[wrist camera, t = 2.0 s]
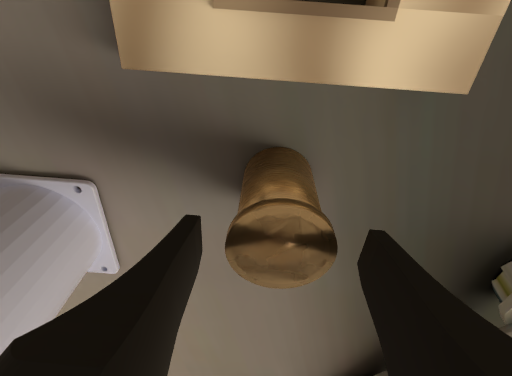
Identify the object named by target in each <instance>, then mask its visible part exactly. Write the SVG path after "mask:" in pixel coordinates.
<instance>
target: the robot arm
mask: <svg viewBox="0 0 512 376" xmlns="http://www.w3.org/2000/svg"><path fill="white" fill-rule="evenodd" d="M77 186H78V187H80V188H81V189H79V188H78V187H77ZM201 255H202V234H201V217H200V216H197V215H185V216H184V217H183V218H182V219H181V220H180V221H179V223H178V224H177V225H176V226H175V227H174V228H173V229H172V230H171V231H170V232H169V233H168V234H167V235H166V236H165V237H164V238H163V239H162V240H161V241H160V242H159V243H158V244H157V245H156V246H155V247H154V248H153V249H152V250H151V251H150V252H149V253H148V254H147V255H146V256H145V257H143V258H142V259H141V260H140V261H139V262H138V263H137V264H136V265H134V266H133V267H132V268H131V269H129V270H128V271H127V272H126V273H124V274H123V275H122V276H121V277H119V278H118V279H117V280H115V281H114V282H112V283H111V284H110V285H108V286H107V287H105V288H104V289H102V290H101V291H99V292H98V293H97V294H95V295H94V296H92V297H91V298H89V299H87V300H86V301H84V302H82V303H81V304H79V305H78V306H76V307H74V308H72V309H71V310H69V311H67V312H65V313H64V314H62V315H60V316H58V317H57V318H55V317H56V315H57V314H58V312H59V311H60V309H61V308H62V307H63V305H64V304H65V302H66V301H67V299H68V298H69V297H70V295H71V294H72V292H73V291H74V289H75V288H76V287H77V285H78V284H79V282H80V281H81V279H82V278H83V277H84V275H85V274H86V272H96V273H109V274H115V273H117V272H118V270H119V268H120V266H119V263H118V260H117V256H116V253H115V249H114V246H113V242H112V239H111V235H110V232H109V229H108V225H107V222H106V218H105V215H104V211H103V208H102V205H101V201H100V198H99V194H98V191H97V188H96V186H95V184H94V183H92V182H90V181H87V180H76V179H63V178H50V177H37V176H24V175H11V174H0V376H167V374H168V370H169V365H170V361H171V357H172V353H173V349H174V345H175V340H176V336H177V332H178V329H179V326H180V322H181V319H182V316H183V313H184V311H185V308H186V305H187V302H188V299H189V296H190V293H191V290H192V288H193V285H194V282H195V279H196V276H197V273H198V269H199V264H200V260H201ZM357 265H358V270H359V276H360V281H361V286H362V289H363V292H364V295H365V298H366V301H367V304H368V307H369V310H370V313H371V316H372V319H373V322H374V325H375V328H376V331H377V334H378V337H379V340H380V344H381V347H382V351H383V355H384V360H385V364H386V368H387V373H388V376H512V337H510V336H509V335H507V334H506V333H504V332H503V331H502V330H500V329H499V328H497V327H496V326H494V325H493V324H491V323H490V322H488V321H487V320H486V319H484V318H483V317H481V316H480V315H479V314H477V313H476V312H475V311H473V310H472V309H471V308H469V307H468V306H467V305H465V304H464V303H463V302H462V301H460V300H459V299H458V298H456V297H455V296H454V295H453V294H452V293H450V292H449V291H448V290H447V289H446V288H444V287H443V286H442V285H441V284H440V283H439V282H438V281H436V280H435V279H434V278H433V277H432V276H431V275H430V274H429V273H427V272H426V271H425V270H424V269H423V268H422V267H421V266H420V265H419V264H418V263H417V262H416V261H415V260H414V259H413V258H412V257H411V256H410V255H409V254H408V253H407V252H406V251H405V250H404V249H403V248H402V247H401V246H400V245H399V244H398V243H397V242H395V241H394V240H393V239H392V238H391V237H390V236H389V235H388V234H387V233H386V232H385V231H382V230H369V233H368V235H367V238H366V241H365V243H364V246H363V249H362V252H361V254H360V257H359V260H358V263H357ZM54 318H55V319H54Z"/></svg>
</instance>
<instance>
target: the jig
mask: <svg viewBox="0 0 512 376" xmlns="http://www.w3.org/2000/svg"><path fill="white" fill-rule="evenodd" d="M109 1H110V7H111V12H112V17H113V23H114V28H115V34H116V39H117V45H118V50H119V56H120V61H121V67H122V69H134V70H147V71H161V72H174V73H188V74H201V75H215V76H228V77H242V78H255V79H269V80H282V81H296V82H309V83H323V84H336V85H350V86H363V87H377V88H390V89H404V90H417V91H430V92H444V93H457V94H468V92H469V90H470V88H471V86H472V84H473V81H474V79H475V77H476V75H477V73H478V70H479V68H480V66H481V64H482V62H483V60H484V57H485V55H486V53H487V51H488V49H489V46H490V44H491V42H492V40H493V38H494V35H495V33H496V31H497V29H498V27H499V25H500V22H501V20H502V18H503V16H504V14H505V11H506V9H507V7H508V5H509V3H510V0H366V4H365V6H364V5H350V4H336V3H322V2H308V1H295V0H109Z"/></svg>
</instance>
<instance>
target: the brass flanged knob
mask: <svg viewBox="0 0 512 376" xmlns="http://www.w3.org/2000/svg"><path fill="white" fill-rule="evenodd" d="M225 253H226V257H227V260H228V262H229V264H230V265H231V267H232V268H233V269H234V270H235V272H236V273H238V274H239V275H240V276H241V277H243V278H244V279H246V280H248V281H250V282H252V283H254V284H257V285H260V286H264V287H268V288H280V289H283V288H294V287H298V286H302V285H305V284H308V283H310V282H313V281H315V280H316V279H318V278H320V277H321V276H322V275H324V274H325V273H326V272H327V271H328V270H329V269H330V267H331V266H332V264H333V263H334V261H335V258H336V255H337V240H336V237H335V233H334V230H333V227H332V224H331V223H330V221H329V219H328V218H327V217H326V216H325V215H324V214H323V213H322V212H321V208H320V204H319V199H318V195H317V191H316V187H315V183H314V179H313V175H312V171H311V168H310V165H309V163H308V161H307V160H306V159H305V158H304V157H303V156H302V155H301V154H300V153H298V152H296V151H294V150H292V149H289V148H284V147H273V148H268V149H265V150H263V151H261V152H259V153H257V154H256V155H255V156H253V157H252V158H251V160H250V161H249V162H248V164H247V166H246V168H245V172H244V178H243V184H242V190H241V196H240V202H239V209H238V214H237V216H236V217H235V218H234V219H233V221H232V222H231V224H230V226H229V229H228V232H227V237H226V242H225Z"/></svg>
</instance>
